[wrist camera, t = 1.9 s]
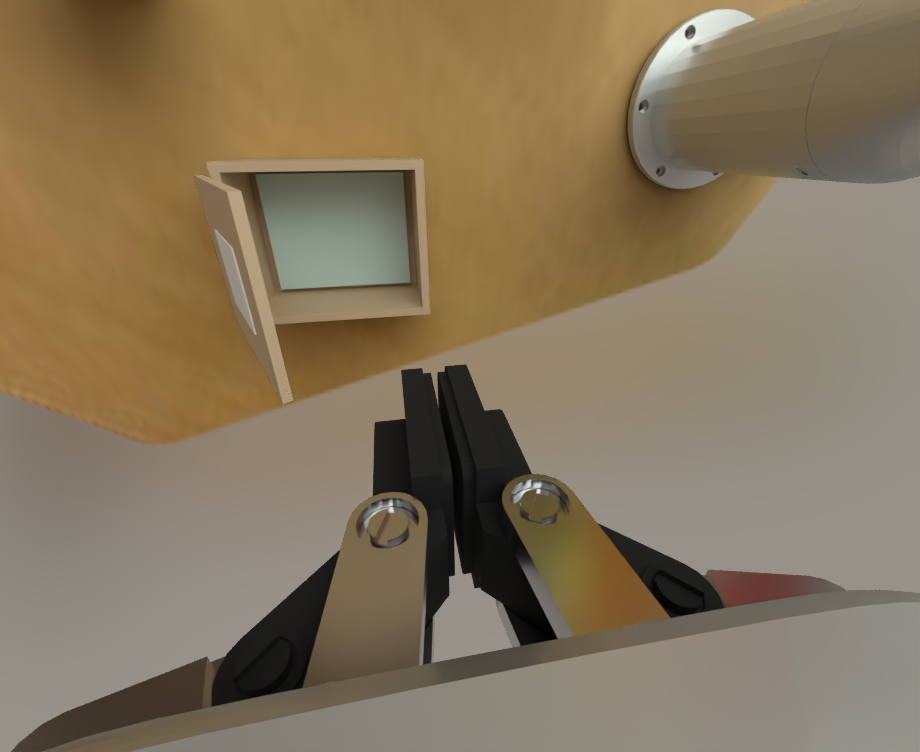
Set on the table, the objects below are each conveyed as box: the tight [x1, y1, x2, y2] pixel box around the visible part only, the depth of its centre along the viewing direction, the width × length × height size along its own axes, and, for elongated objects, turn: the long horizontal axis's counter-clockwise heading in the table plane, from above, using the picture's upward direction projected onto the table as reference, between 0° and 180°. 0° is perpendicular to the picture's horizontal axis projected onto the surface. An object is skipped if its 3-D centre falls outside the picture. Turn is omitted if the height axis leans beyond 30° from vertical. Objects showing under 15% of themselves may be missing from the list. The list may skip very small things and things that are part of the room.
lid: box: [194, 175, 293, 404], centre depth 23 cm, size 14×10×1 cm
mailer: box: [206, 157, 430, 324], centre depth 32 cm, size 14×11×7 cm
